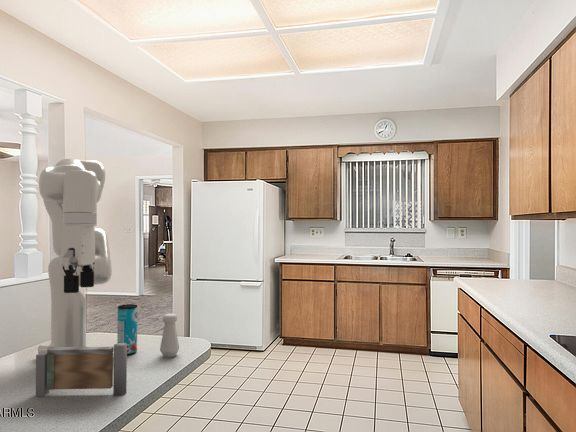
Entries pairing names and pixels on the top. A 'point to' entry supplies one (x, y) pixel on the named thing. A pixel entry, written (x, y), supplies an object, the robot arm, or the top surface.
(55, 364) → the gate
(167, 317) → the salt shaker
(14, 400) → the top surface
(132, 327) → the beverage can
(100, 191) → the robot arm
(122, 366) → the hinge post
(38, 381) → the post
